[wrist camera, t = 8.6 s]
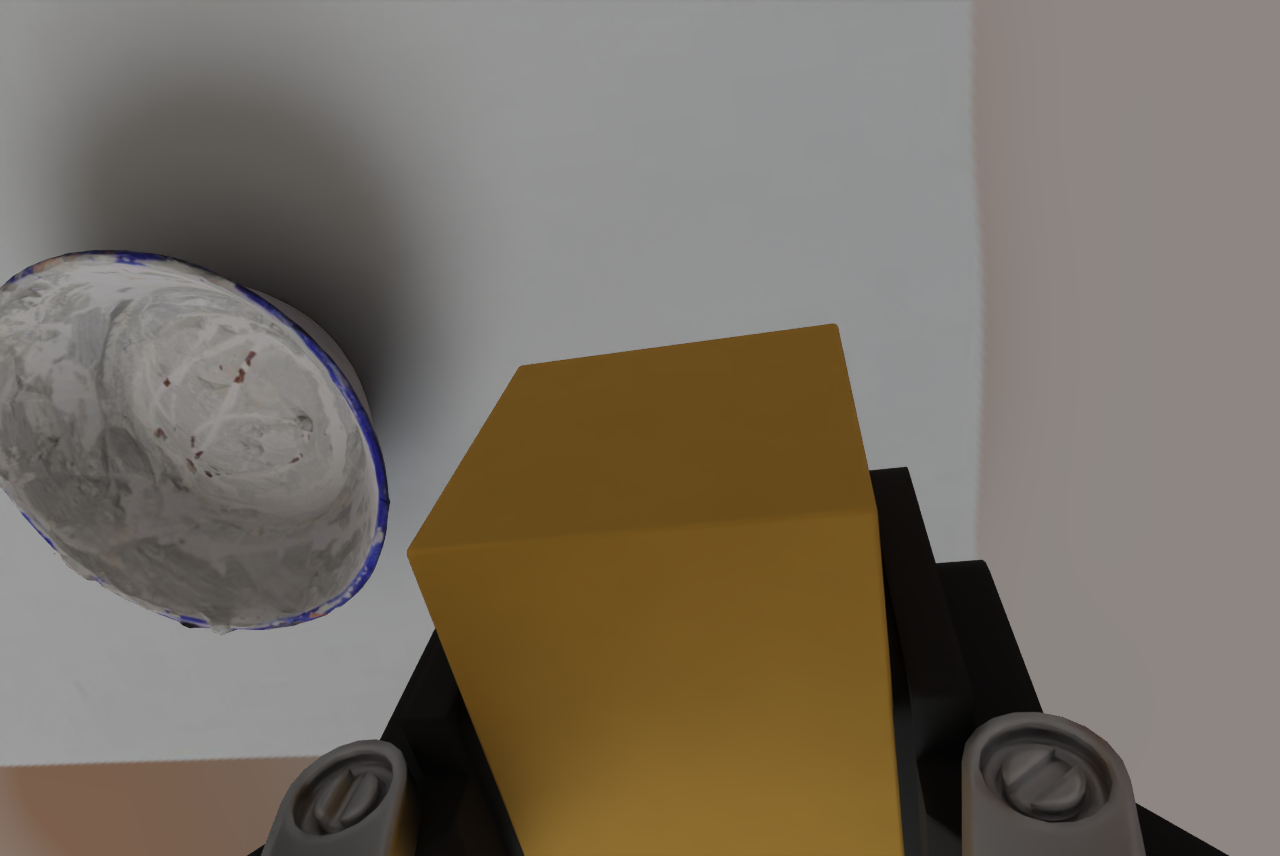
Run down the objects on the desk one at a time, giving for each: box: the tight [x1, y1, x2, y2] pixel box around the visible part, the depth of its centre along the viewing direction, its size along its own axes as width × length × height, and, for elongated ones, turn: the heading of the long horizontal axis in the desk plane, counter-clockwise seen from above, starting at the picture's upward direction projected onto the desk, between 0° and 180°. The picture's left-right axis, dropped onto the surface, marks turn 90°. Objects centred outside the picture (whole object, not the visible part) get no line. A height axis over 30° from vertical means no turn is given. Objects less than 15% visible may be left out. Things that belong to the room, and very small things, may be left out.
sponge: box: [407, 324, 905, 856], centre depth 10 cm, size 7×4×4 cm, turn 11°
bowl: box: [0, 250, 390, 635], centre depth 27 cm, size 13×13×5 cm
